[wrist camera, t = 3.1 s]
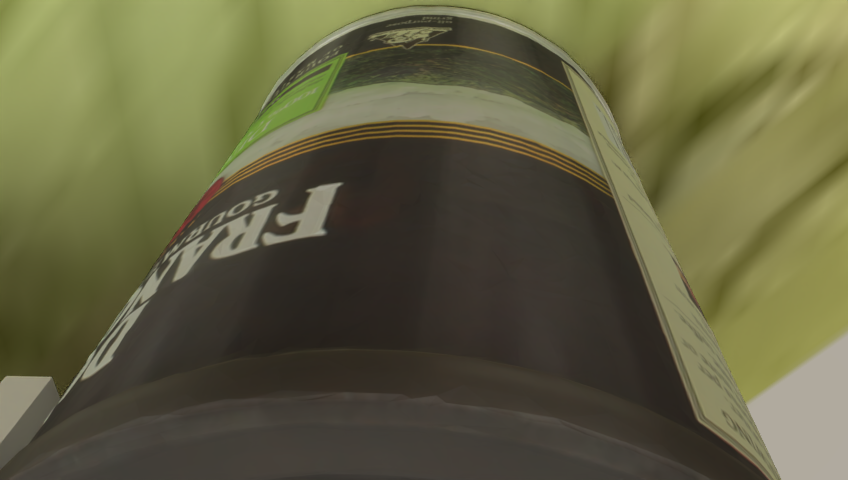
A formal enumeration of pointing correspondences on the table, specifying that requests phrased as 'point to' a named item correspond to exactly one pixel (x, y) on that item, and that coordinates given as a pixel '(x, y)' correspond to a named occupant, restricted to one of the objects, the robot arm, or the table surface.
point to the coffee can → (413, 290)
